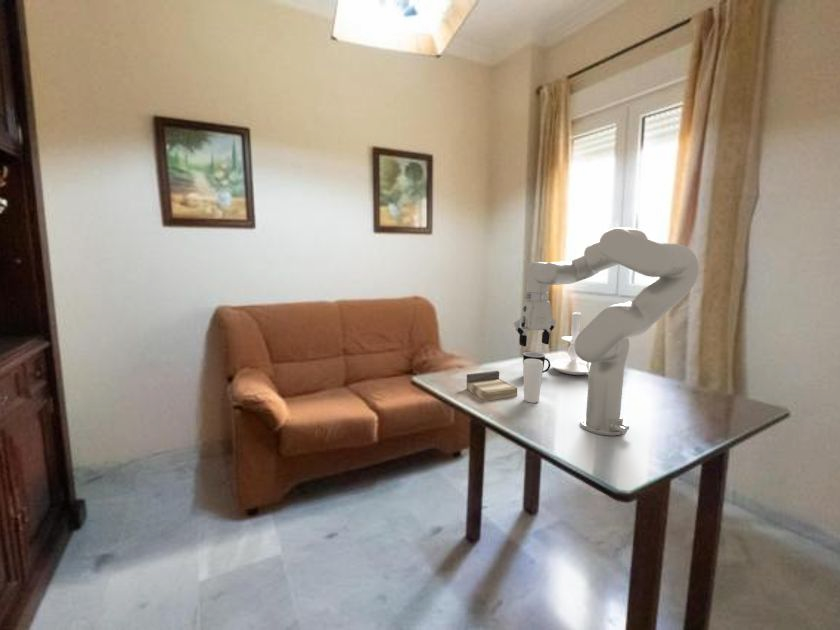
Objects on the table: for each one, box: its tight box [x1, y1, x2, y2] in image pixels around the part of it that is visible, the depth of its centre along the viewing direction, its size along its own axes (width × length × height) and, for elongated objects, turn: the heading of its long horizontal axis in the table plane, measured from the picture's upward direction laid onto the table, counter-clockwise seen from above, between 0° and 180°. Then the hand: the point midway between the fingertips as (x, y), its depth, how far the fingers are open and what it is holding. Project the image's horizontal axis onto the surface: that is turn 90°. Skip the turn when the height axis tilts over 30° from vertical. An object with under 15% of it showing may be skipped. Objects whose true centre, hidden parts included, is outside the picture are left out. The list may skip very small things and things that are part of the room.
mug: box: [522, 351, 551, 374], centre depth 176 cm, size 12×9×10 cm
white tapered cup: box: [522, 359, 544, 404], centre depth 147 cm, size 7×7×15 cm
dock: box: [466, 370, 518, 402], centre depth 156 cm, size 14×14×6 cm
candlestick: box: [550, 311, 591, 376], centre depth 180 cm, size 21×25×28 cm
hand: (534, 344), depth 145 cm, fingers open, 9 cm apart
